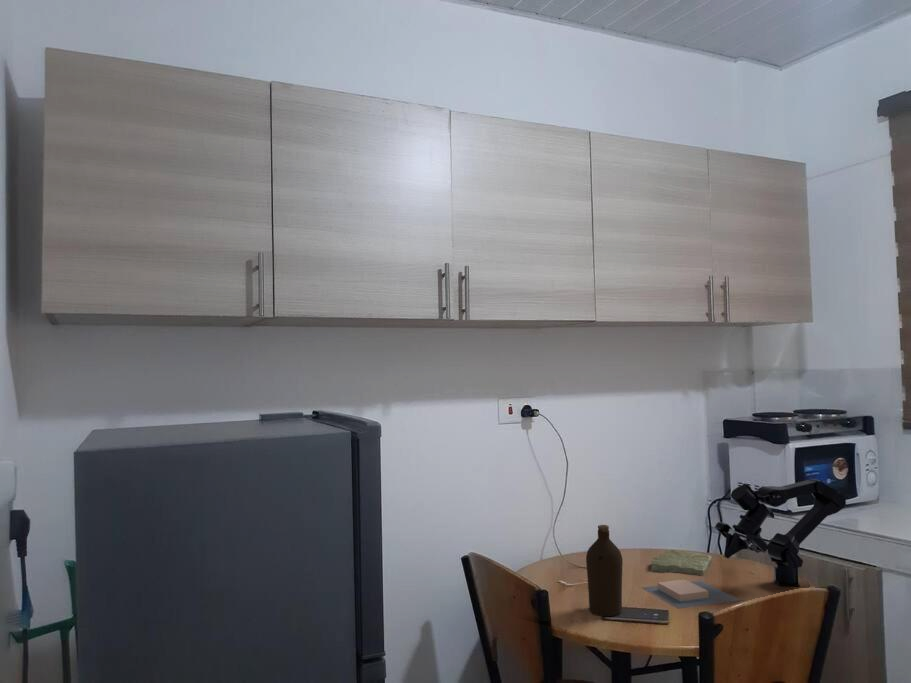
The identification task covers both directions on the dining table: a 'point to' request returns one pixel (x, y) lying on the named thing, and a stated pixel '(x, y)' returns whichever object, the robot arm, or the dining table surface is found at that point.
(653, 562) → the decorative tile
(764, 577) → the dining table surface
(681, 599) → the tile
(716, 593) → the mat
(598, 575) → the olive oil
